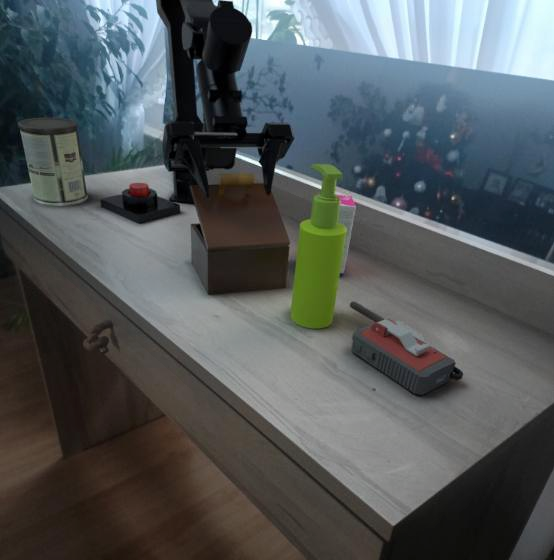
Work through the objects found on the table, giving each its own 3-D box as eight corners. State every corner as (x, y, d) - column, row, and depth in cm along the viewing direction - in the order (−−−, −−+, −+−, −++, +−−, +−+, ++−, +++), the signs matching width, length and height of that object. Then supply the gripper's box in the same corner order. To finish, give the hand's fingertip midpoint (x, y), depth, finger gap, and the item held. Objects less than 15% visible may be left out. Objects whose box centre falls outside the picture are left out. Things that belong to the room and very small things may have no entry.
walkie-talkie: (471, 379, 62) (354, 309, 74) (482, 349, 60) (359, 282, 72) (425, 404, 57) (309, 325, 70) (435, 372, 55) (312, 296, 67)
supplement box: (344, 276, 83) (356, 206, 77) (308, 273, 83) (317, 203, 77) (341, 262, 88) (352, 194, 82) (307, 259, 88) (315, 191, 81)
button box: (142, 197, 108) (140, 180, 106) (180, 213, 102) (179, 195, 100) (100, 207, 101) (98, 189, 99) (139, 224, 95) (137, 205, 93)
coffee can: (48, 188, 108) (35, 115, 100) (96, 193, 108) (86, 120, 99) (23, 203, 100) (6, 124, 91) (74, 209, 99) (62, 130, 91)
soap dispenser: (320, 302, 75) (339, 160, 64) (339, 326, 70) (364, 175, 59) (282, 306, 74) (295, 160, 62) (299, 330, 68) (317, 176, 57)
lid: (190, 188, 76) (192, 166, 72) (267, 186, 80) (273, 164, 76) (207, 251, 71) (210, 230, 67) (289, 245, 75) (296, 225, 71)
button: (141, 190, 102) (140, 181, 101) (152, 195, 100) (152, 186, 99) (126, 193, 99) (125, 184, 98) (137, 198, 98) (137, 189, 97)
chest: (191, 263, 83) (190, 223, 79) (262, 258, 87) (265, 219, 83) (207, 295, 75) (207, 252, 71) (285, 287, 79) (289, 246, 75)
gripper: (264, 130, 87) (282, 217, 85) (152, 129, 81) (168, 222, 79) (285, 84, 76) (305, 182, 74) (158, 79, 70) (176, 186, 68)
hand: (238, 195), depth 74 cm, fingers open, 9 cm apart
